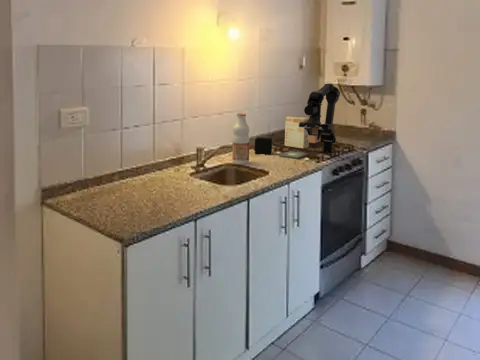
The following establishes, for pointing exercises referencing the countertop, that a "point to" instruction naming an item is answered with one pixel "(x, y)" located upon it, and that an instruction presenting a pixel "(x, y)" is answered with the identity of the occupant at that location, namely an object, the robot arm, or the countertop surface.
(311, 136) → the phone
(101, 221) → the countertop surface
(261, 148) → the electronic device
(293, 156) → the pad
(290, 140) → the coffeecake box
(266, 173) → the countertop surface
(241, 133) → the fruit juice
